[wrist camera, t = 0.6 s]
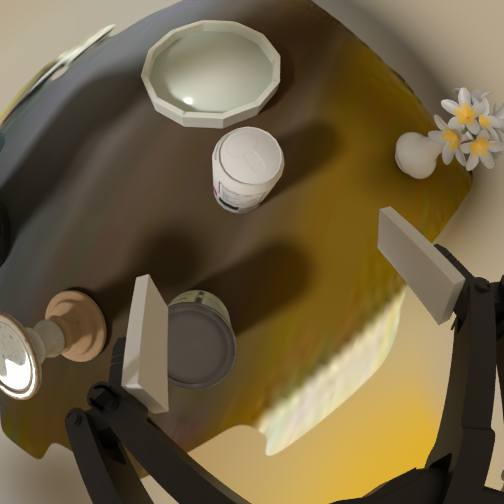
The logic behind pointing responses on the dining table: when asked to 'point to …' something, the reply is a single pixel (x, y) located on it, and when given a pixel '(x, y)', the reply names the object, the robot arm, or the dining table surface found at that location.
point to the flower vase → (455, 137)
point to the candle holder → (49, 341)
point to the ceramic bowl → (211, 73)
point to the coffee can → (199, 341)
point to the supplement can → (245, 168)
